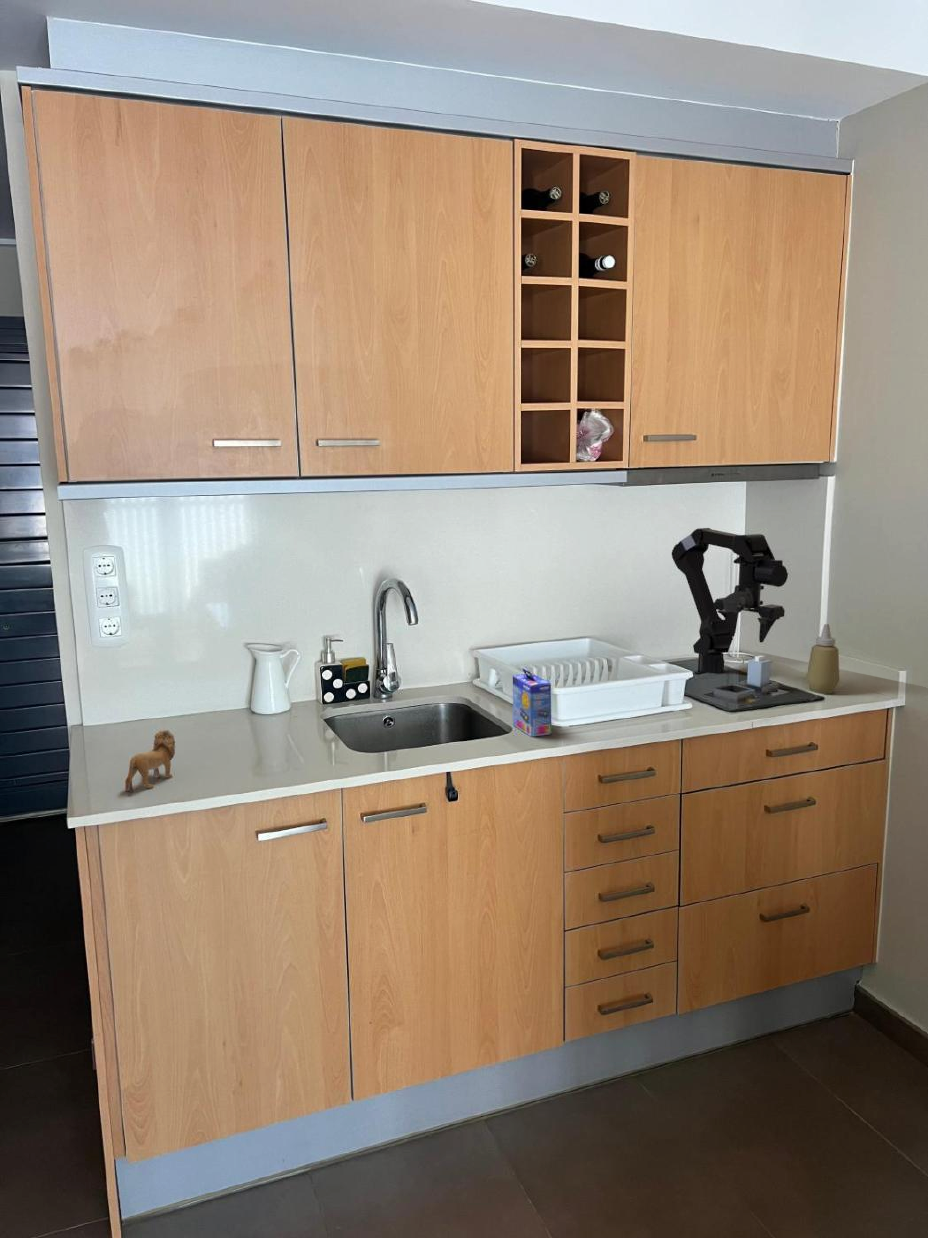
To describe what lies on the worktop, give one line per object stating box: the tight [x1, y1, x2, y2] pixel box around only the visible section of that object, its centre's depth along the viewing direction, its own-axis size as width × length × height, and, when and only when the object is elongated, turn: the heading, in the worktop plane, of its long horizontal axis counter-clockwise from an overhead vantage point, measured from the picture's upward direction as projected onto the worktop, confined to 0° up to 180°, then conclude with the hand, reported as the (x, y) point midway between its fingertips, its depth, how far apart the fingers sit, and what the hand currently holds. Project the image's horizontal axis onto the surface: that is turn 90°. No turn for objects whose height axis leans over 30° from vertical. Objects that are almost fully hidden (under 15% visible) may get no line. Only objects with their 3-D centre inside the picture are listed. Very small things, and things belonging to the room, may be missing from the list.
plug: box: [746, 655, 772, 686], centre depth 245 cm, size 4×4×9 cm
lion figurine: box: [124, 729, 176, 794], centre depth 183 cm, size 15×5×9 cm, turn 167°
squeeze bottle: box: [806, 623, 840, 695], centre depth 246 cm, size 8×8×18 cm
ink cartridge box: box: [512, 667, 552, 738], centre depth 215 cm, size 10×6×14 cm, turn 23°
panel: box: [702, 679, 789, 706], centre depth 242 cm, size 12×20×3 cm, turn 127°
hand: (746, 639), depth 252 cm, fingers open, 9 cm apart
